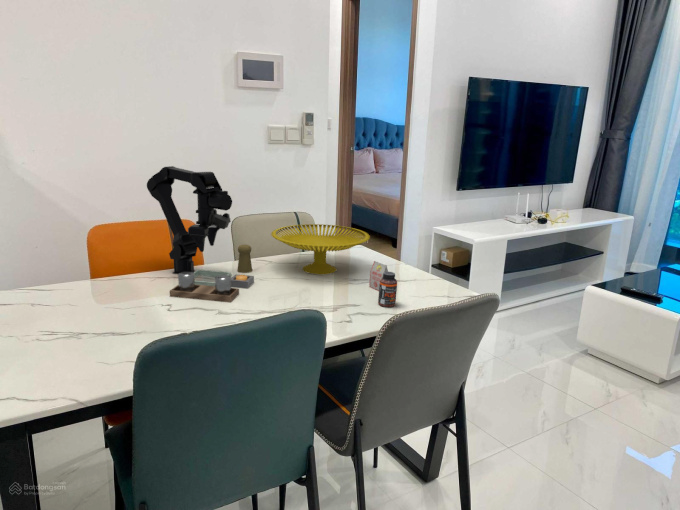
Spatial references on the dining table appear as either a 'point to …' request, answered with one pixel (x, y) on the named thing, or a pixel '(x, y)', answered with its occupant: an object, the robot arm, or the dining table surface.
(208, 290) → the walnut pallet
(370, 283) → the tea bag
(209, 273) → the sage tote
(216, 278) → the seated steel billet
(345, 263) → the dining table surface
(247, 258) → the cork
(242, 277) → the button
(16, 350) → the dining table surface
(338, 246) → the yellow pedestal fruit bowl
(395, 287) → the supplement bottle
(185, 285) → the cylinder
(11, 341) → the dining table surface
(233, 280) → the button housing
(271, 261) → the dining table surface
